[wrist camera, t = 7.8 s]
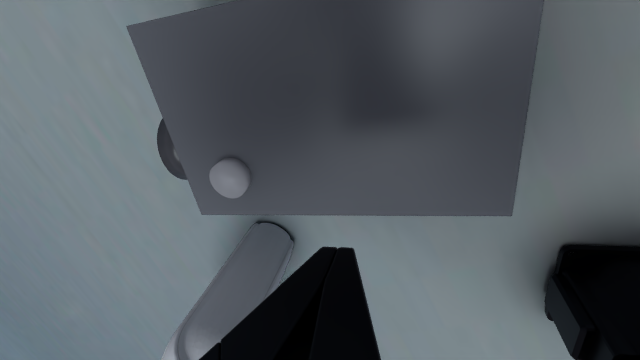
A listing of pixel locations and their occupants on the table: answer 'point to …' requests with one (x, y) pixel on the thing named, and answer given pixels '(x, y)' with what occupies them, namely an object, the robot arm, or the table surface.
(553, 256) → the table surface
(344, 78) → the box
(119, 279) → the table surface
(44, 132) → the table surface
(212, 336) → the photo printer
